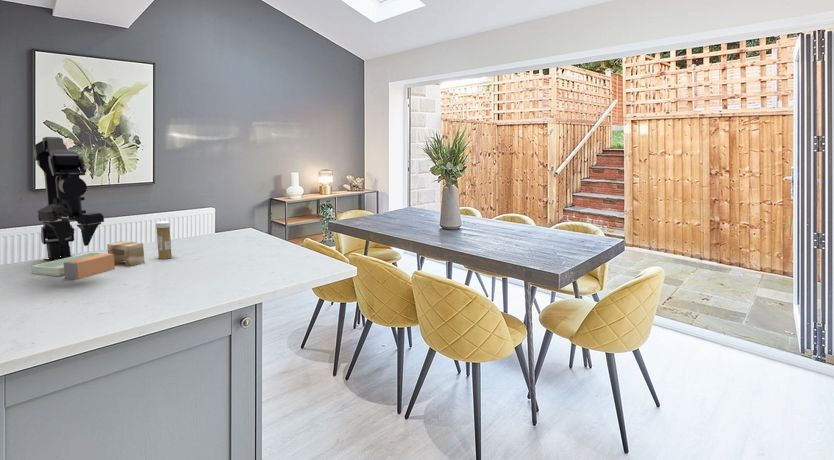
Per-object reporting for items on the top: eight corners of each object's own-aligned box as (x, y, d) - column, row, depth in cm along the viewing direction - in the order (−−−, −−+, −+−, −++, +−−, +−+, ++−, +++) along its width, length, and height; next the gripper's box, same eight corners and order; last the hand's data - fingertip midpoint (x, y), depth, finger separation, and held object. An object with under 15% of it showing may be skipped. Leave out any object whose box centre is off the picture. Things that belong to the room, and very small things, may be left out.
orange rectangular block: (65, 278, 142) (63, 262, 141) (105, 267, 156) (103, 253, 155) (75, 279, 141) (73, 263, 140) (114, 268, 155) (113, 254, 154)
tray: (31, 273, 146) (30, 265, 146) (93, 258, 167) (92, 251, 167) (59, 276, 144) (58, 269, 144) (118, 260, 165) (117, 254, 164)
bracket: (108, 264, 160) (107, 244, 159) (123, 260, 166) (121, 241, 164) (130, 266, 158) (128, 246, 157) (144, 262, 164) (143, 243, 162)
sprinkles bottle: (172, 258, 170) (170, 222, 168) (158, 259, 168) (156, 223, 165) (171, 255, 174) (168, 220, 172) (157, 257, 172) (154, 221, 169)
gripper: (16, 195, 134) (23, 247, 136) (68, 198, 130) (73, 252, 132) (54, 191, 144) (59, 240, 147) (103, 194, 140) (107, 244, 143)
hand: (74, 244), depth 142 cm, fingers open, 9 cm apart
